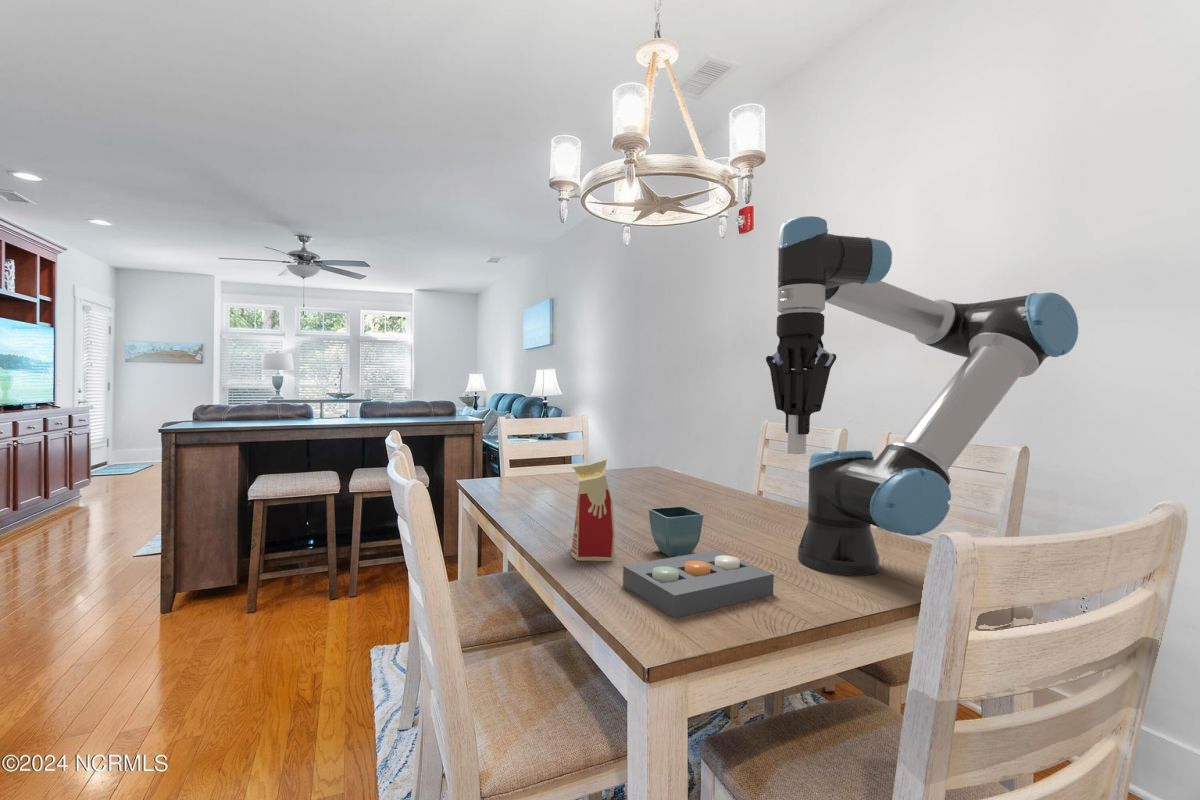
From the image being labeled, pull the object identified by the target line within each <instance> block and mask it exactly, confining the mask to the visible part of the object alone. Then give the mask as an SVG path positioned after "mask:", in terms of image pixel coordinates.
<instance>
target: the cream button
mask: <svg viewBox="0 0 1200 800" xmlns="http://www.w3.org/2000/svg"><path fill="white" fill-rule="evenodd" d="M726 555H727V554H726ZM726 555H721V556H717V557H715V566H717V567H719V568H721V569H723V570H726V571H727V570H732V569H737V568H740V561H741V560H740V558H738V557H736V556H732V555H728V556H726Z"/></svg>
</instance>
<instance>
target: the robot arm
mask: <svg viewBox="0 0 1200 800" xmlns="http://www.w3.org/2000/svg"><path fill="white" fill-rule="evenodd" d="M828 231H829V229H828V222H827V220H826V219H824V218H821V217H820V216H813V215H812V216H810V215H809V216H808V215H807V216H806V215H805V216H800V217H794V218H790V219H789V220H787V221H785V222H783V224H782V225H781V227H780V230H779V236H778V246H777V252H778V262H777V264H778V267H777V271H778V272H777V309H776V310H777V312H778V313H780V314H779V315H777V317H776V336H777V337H778V338H779V340H778V345H777V347H776V351H775V353H773V354H772V355H767V356H765V361H766V363H767V366H768V367H769V373H770V379H771V383H772V389H773V390H772V392H773V396H774V397H773V398H774V402H775V408H776V410H778V411H782V412H784V414H785V427H784V428H785V433H787V454H790V455H805V454H806V453H807V435H809V434H810V426H811V425H810V424H811V421H810V420H811V415H812V414H814V413H818V412H820V411H821V410H822V407H823V402H824V398H825V394H826V389H827V385H828V381H829V377H830V374H831V369H832V367H833V365H834V363H835V362H836V360H837V355H836V354H835V353H830V352H829V351H827V350H826V349H825V347H824V343H823V340H822V337H823V336H824V334H825V317H826V316H825V315H824V314H823V313H822V312H824V311H825V309H826V303H827V304H829V305H830V304H831V305H832V306H836V307H838V308H840V309H844V310H846V311H848V312H852V313H854V314H857V315H860V316H862V317H865V318H867V319H870V320H873V321H876V322H878V323H881V324H883V325H886V326H890V327H892V328H895V329H898V330H900V331H903V332H905V333H908V334H910V335H911V334H912V335H913V336H914V337H915V339H916V340H917V341H918V342H919V343H921V344H923V345H927V346H929V347H931V348H934V349H937V350H940V351H942V352H946V353H948V354H949V353H950V354H952V355H954V356H959V357H963V358H966V360H965V361H964V362H963V364H961V366H960V368H959V369H958V370H957V371H956V372H955V374H954V375H953V376H952V377H951V378H950V380H949V381H948V382H947V384H946V385H945V386H944V387H943V389H942V390H941V391H940V393H939V394H938V395H937V396H936V398H935V399H934V400H933V402H931V404H930V405H929V406H928V407H927V409H926V410H925V412H924V413H923V414H922V415H921V416H920V418H919V419H918V420H917V422H916V423H915V424H914V425H913V427H911V429H910V431H908V432H907V434H906V436H904V438H903V439H902V441H901V442H891V443H889V444H887V445H886V446H885V447H884V449H883V450H882V451H881V452H880V454H878V456H877V458H876V459H874V458H875V457H874V456H873V452H872V451H871V450H823V451H822V450H821V451H820V450H816V451H815V452H813V453H812V454H811V455H810V458H809V466H808V504H807V505H808V507H807V508H808V509H807V517H808V518H807V523H806V526H805V528H804V529H805V530H804V532H803V534H802V537H801V540H800V543H799V545H798V548H797V559H798V562H800V563H801V564H802V565H805V566H807V567H809V568H812V569H814V570H817V571H821V572H825V573H830V574H835V575H844V576H869V575H870V576H871V575H873V574H876V573H878V572H879V571H880V560H881V559H880V555H879V553H878V550H877V545H876V543H875V539H874V536H873V534H872V528H871V526H875V527H878V528H879V529H882V530H884V531H886V532H889V533H894V534H900V535H904V536H907V537H909V536H910V537H914V536H921V535H924V534H925V535H926V534H928V533H930V532H931V531H933V530H935V529H936V528H937V527H939V525H940V524H941V523H943V521H945V518H946V517H947V515H948V513H949V510H950V507H951V505H950V504H949V503H948V502H949V501H951V500H952V493H951V488H950V487H949V486H950V484H951V481H952V479H951V476H950V474H949V471H948V470H949V469H950V468H951V466H952V465H953V464H955V461H956V460H957V459H958V458H959V456H960V455H961V453H962V452H963V451H964V450H965V448H966V447H967V446H968V445H969V443H970V442H971V441H972V440H973V438H974V436H975V435H976V434H977V432H978V431H980V429H981V427H982V426H983V425H984V423H985V422H986V421H987V419H988V418H989V417H990V415H991V414H992V413H993V412H994V410H995V409H996V407H998V405H999V404H1000V403H1001V401H1002V400H1003V399H1004V397H1005V396H1006V395H1007V394H1008V392H1009V391H1010V389H1011V388H1012V387H1013V386H1014V385H1015V383H1016V381H1017V380H1018V379H1020V378H1024V377H1028V376H1031V375H1033V374H1034V373H1035V372H1037V370H1038V369H1039V367H1040V366H1041V365H1042V364H1043V362H1044V361H1045V360H1046V359H1047V358H1048V357H1051V358H1058V357H1060V356H1065V355H1066V354H1068V353H1070V352H1071V351H1072V350H1073V348H1075V345H1076V343H1077V341H1078V337H1079V325H1078V324H1079V323H1078V316H1077V313H1076V311H1075V308H1074V307H1073V306H1072V304H1071V302H1069V301H1068V300H1067V298H1065V297H1064V296H1063V295H1061V294H1059V293H1056V292H1041V293H1037V292H1032V293H1029V294H1027V295H1021V296H1014V297H1013V296H1012V297H1009V298H1001V299H995V300H993V299H992V300H988V301H982V302H981V301H979V302H972V303H956V302H955V303H954V302H952V301H949V300H946V299H936V300H932V299H929V298H928V297H927V298H926V297H924V296H921V295H919V294H916V293H914V292H911V291H909V290H906V289H904V288H901V287H898V286H896V285H894V284H890V283H888V282H885V281H883V279H884V278H885V277H886V276H887V275H888V273H889V271H890V270H891V266H892V263H893V261H892V260H893V257H892V256H893V252H892V248H891V247H890V245H889V244H888V243H887V242H886V241H885V240H881V239H875V238H872V237H869V236H867V237H861V236H860V237H858V236H850V235H838V234H836V235H835V234H833V233H828Z"/></svg>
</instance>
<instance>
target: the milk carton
mask: <svg viewBox="0 0 1200 800" xmlns="http://www.w3.org/2000/svg"><path fill="white" fill-rule="evenodd" d="M571 468H572V469H573V470H574V471H575V474H576V476H577V478H578V480H579V481H578V490H577V500H576V510H575V518H574V519H575V520H574V527H573V534H572V535H573V536H572V537H573V538H572V544H571V552H570V555H571V556H572V558H574V559H575V560H576V561H586V562H587V561H599V562H614V558H615V557H614V555H615V554H614V553H615V541H616V529H615V518H614V517H615V516H614V508H613V506H614V505H613V499H612V496H611V492H610V489H609V485H608V481H607V477H606V468H607V458H605V459H602V460H600V461H596V462H593V463H590V464H584V465H576V466H575V465H574V466H572V467H571Z"/></svg>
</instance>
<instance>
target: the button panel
mask: <svg viewBox="0 0 1200 800" xmlns="http://www.w3.org/2000/svg"><path fill="white" fill-rule="evenodd" d="M721 555H726V556H729V555H728V554H726V553H723V552H721V551H719V550H717V549H716V550H715V549H713V550H708V551H703V552H702V551H701V552H695V553H692V554H689V555H683V556H675V557H668V558H661V559H656V560H648V561H644V562H638V563H637V562H636V563H633V564H627V565H623V568H622V569H623V571H622V572H623V574H622V585H623V587H625V588H626V589H628V590H629V591H631V592H632V593H634V594H636V595H637V596H639V597H641V598H642V599H644V600H645V601H646V602H648V603H650V604H651V605H653V606H654V607H656V608H657V609H659V610H661V611H663V612H664V613H665V614H666V615H669V616H670V617H672V618H673V619H676V618H680V617H684V616H689V615H693V614H697V613H702V612H706V611H709V610H713V609H714V610H715V609H718V608H723V607H726V606H731V605H735V604H739V603H743V602H747V601H752V600H756V599H759V598H764V597H768V596H773V595H774V583H775V582H774V580H775V579H774V578H775V577H774V576H775V574H774V573H771V572H769V571H767V570H764V569H762V568H760V567H757V566H754V565H753V564H750V563H748V562H745V561H742V560H740V568H737V569H732V570H727V571H726V570H723V569H721V568H719V567H717V566H715V557H717V556H721ZM688 561H703V562H706V563H708V564H710V574H707V575H702V576H697V577H695V576H693V575H691V574H689V573H687V572H685V563H686V562H688ZM660 566H667V567H673V568H676V569H677V570H678V571H679V580H677V581H672V582H667V583H660V582H659V581H657V580H655V579H653V578H652V570H653V568H655V567H660Z"/></svg>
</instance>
